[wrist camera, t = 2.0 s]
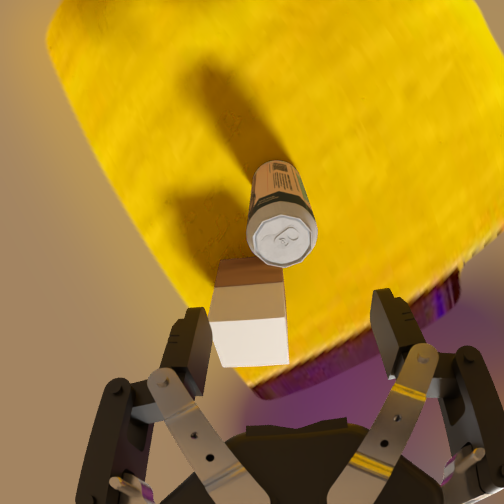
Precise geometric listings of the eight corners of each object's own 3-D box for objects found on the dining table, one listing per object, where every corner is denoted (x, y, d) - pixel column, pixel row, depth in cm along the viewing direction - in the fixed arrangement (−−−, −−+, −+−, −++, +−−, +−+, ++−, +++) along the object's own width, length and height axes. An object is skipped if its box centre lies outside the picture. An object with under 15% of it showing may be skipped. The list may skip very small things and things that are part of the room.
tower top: (214, 287, 30) (206, 322, 26) (282, 282, 30) (284, 317, 25) (227, 333, 34) (222, 367, 30) (287, 329, 33) (289, 363, 29)
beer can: (242, 179, 29) (229, 238, 19) (279, 149, 27) (288, 192, 17) (273, 212, 31) (277, 284, 21) (310, 184, 29) (334, 246, 19)
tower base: (220, 259, 34) (214, 286, 30) (280, 253, 34) (282, 280, 30) (231, 304, 38) (227, 332, 34) (285, 299, 37) (287, 328, 33)
